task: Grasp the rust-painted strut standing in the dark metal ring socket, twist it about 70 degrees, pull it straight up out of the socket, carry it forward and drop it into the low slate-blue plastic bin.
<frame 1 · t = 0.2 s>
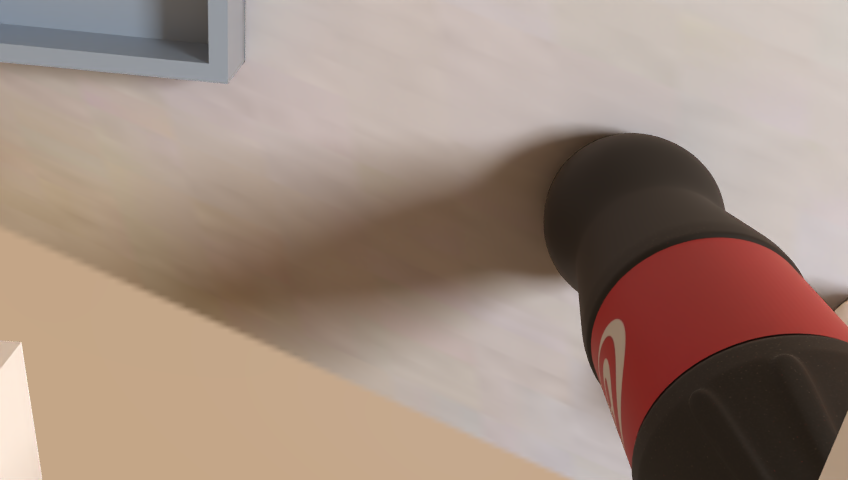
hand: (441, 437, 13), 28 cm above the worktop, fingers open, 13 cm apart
cola bottle: (615, 195, 41), on the worktop
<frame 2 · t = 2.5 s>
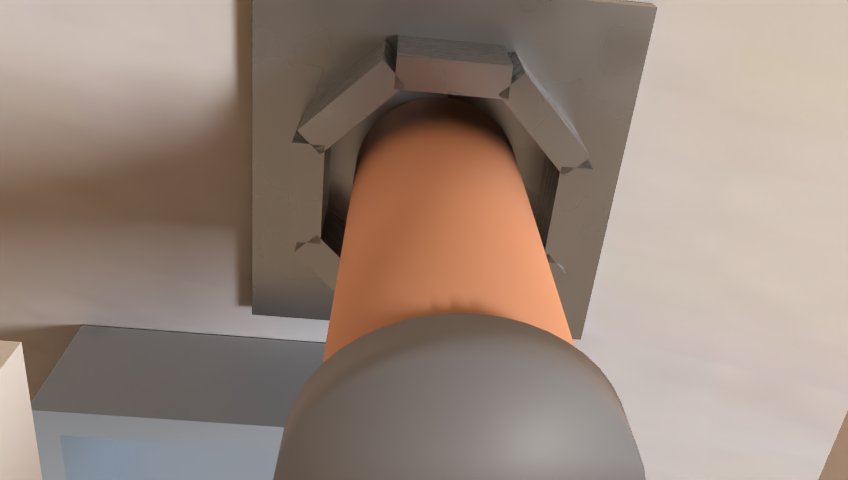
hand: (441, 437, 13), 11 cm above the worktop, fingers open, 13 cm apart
socket base: (435, 168, 22), on the worktop
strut: (435, 175, 22), resting on socket base
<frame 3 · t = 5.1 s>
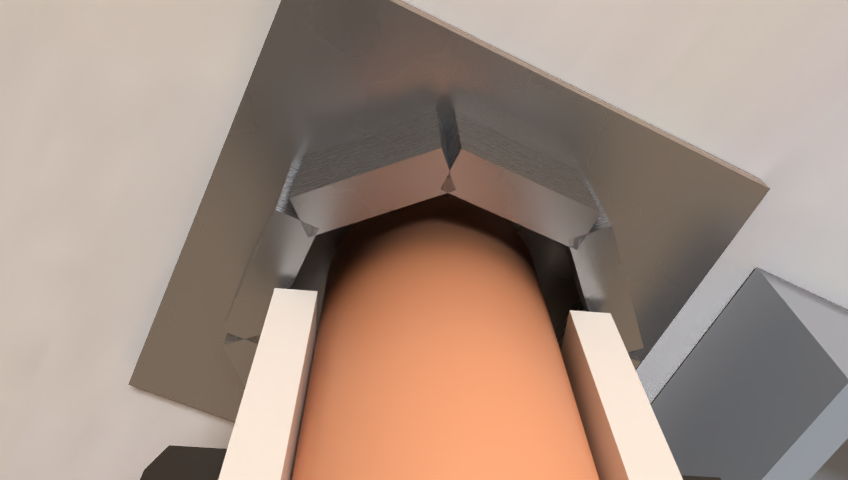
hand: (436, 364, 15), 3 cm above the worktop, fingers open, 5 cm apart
socket base: (430, 280, 17), on the worktop
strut: (431, 291, 17), resting on socket base
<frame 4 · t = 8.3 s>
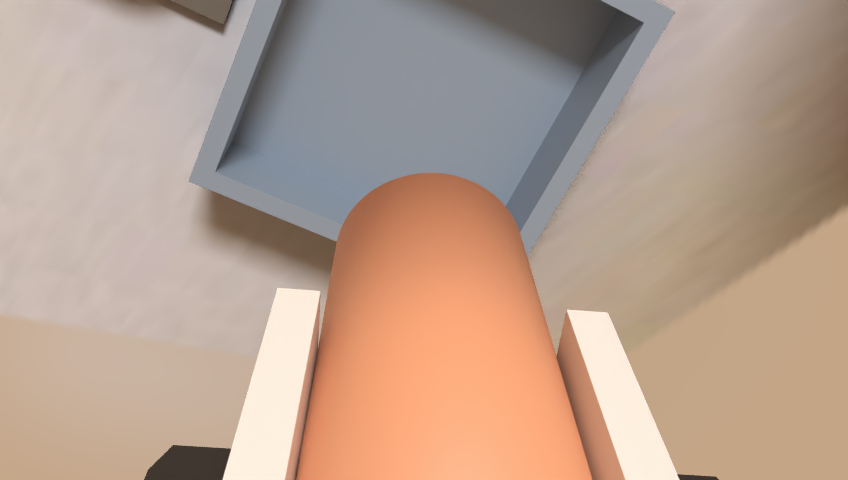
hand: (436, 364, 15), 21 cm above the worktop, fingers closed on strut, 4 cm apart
bin: (419, 72, 33), on the worktop
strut: (429, 260, 18), point 16 cm above the worktop, touching gripper
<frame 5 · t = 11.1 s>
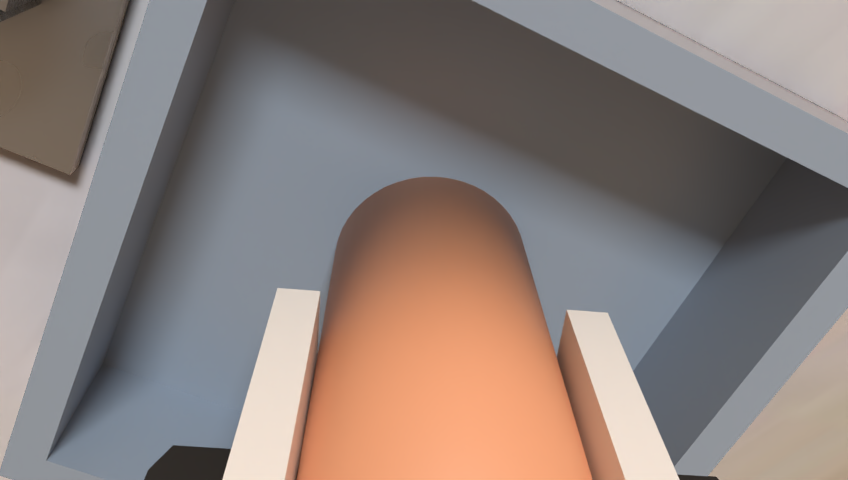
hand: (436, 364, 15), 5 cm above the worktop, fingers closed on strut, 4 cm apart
bin: (429, 247, 19), on the worktop
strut: (429, 264, 18), point 1 cm above the worktop, touching bin, gripper
when the fingers open (5 cm above the worktop, at t = 11.4 s): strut stays where it is, resting on bin.
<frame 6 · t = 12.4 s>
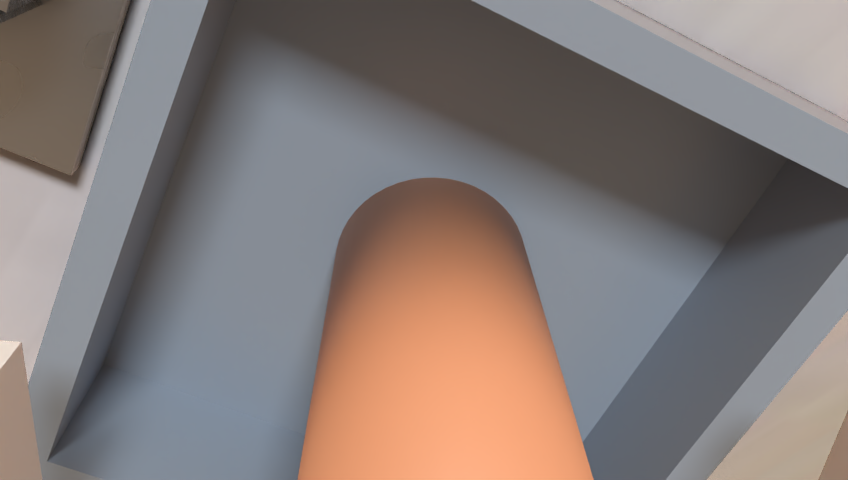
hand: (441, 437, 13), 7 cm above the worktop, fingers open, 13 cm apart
bin: (429, 248, 19), on the worktop
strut: (430, 265, 18), point 1 cm above the worktop, touching bin
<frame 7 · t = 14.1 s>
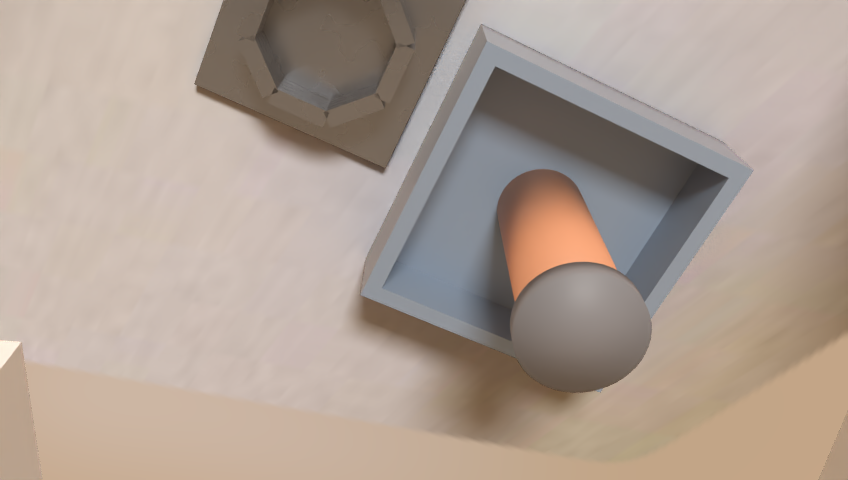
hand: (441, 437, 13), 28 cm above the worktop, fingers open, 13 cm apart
socket base: (331, 31, 37), on the worktop
bin: (538, 202, 41), on the worktop
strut: (540, 209, 40), point 1 cm above the worktop, touching bin
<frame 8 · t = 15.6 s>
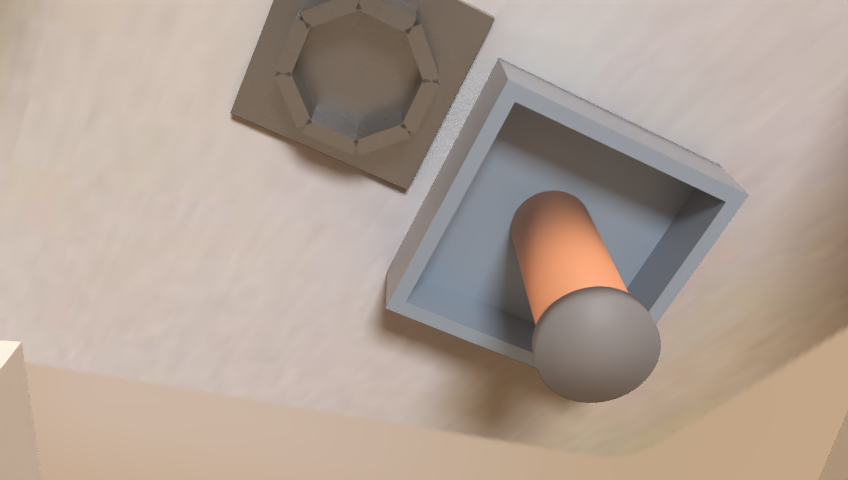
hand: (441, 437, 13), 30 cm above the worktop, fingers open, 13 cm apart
socket base: (360, 64, 40), on the worktop
bin: (548, 220, 44), on the worktop
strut: (550, 227, 44), point 1 cm above the worktop, touching bin
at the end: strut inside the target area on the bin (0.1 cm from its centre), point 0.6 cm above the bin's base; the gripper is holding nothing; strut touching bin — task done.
